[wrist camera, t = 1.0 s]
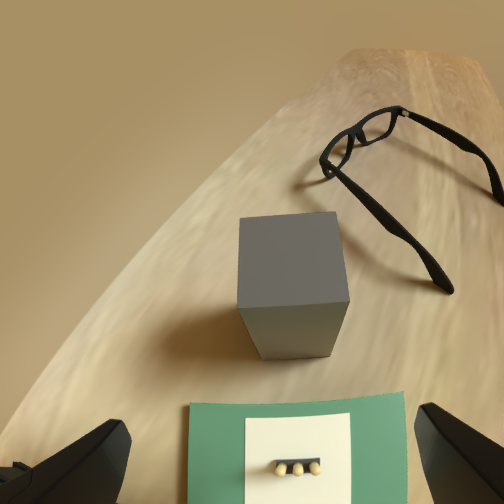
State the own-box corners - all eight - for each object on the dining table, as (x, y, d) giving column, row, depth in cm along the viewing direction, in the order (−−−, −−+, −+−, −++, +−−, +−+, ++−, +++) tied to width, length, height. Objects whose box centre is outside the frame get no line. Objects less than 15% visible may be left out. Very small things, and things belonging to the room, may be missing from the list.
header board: (401, 505, 15) (424, 519, 11) (192, 513, 17) (168, 528, 13) (398, 393, 20) (421, 383, 16) (195, 404, 22) (171, 396, 18)
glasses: (389, 129, 37) (393, 96, 33) (506, 203, 27) (522, 172, 23) (301, 194, 33) (298, 156, 28) (444, 304, 23) (466, 275, 19)
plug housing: (324, 295, 25) (335, 211, 16) (329, 356, 22) (349, 301, 14) (262, 299, 26) (239, 218, 17) (262, 360, 23) (236, 308, 14)
